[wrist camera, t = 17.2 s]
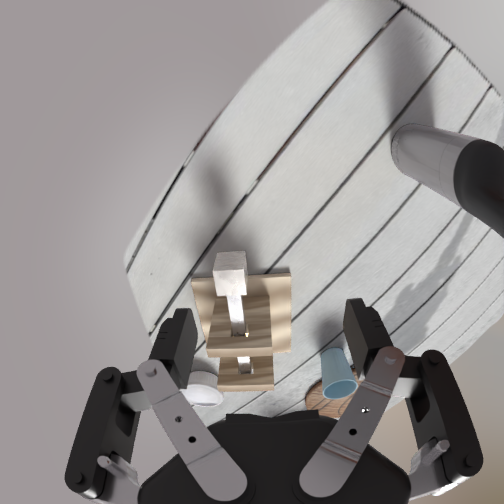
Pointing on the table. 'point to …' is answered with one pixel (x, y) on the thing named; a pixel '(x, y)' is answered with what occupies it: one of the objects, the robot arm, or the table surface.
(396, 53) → the table surface
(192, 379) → the ramekin
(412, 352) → the table surface
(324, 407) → the trivet
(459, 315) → the table surface
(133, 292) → the table surface
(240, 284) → the shaft
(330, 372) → the cup
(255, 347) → the bracket
